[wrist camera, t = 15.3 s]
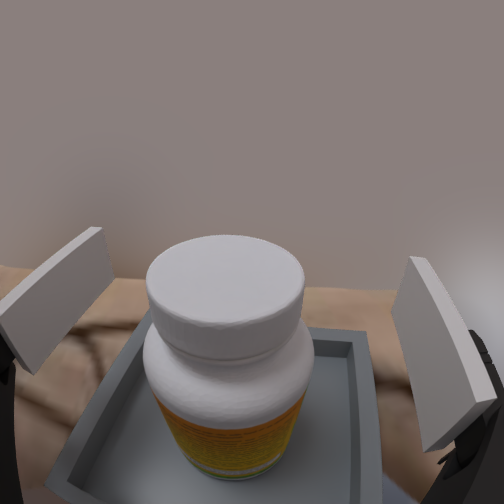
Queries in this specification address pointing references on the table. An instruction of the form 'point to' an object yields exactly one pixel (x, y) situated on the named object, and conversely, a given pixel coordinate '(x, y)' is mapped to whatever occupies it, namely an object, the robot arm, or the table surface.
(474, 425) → the robot arm
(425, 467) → the table surface
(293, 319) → the supplement bottle
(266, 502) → the grey tray
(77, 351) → the table surface
